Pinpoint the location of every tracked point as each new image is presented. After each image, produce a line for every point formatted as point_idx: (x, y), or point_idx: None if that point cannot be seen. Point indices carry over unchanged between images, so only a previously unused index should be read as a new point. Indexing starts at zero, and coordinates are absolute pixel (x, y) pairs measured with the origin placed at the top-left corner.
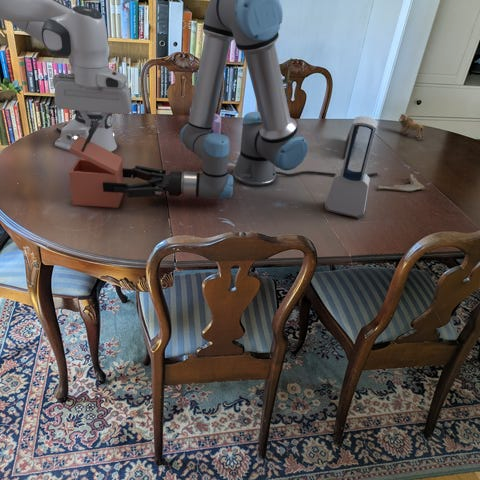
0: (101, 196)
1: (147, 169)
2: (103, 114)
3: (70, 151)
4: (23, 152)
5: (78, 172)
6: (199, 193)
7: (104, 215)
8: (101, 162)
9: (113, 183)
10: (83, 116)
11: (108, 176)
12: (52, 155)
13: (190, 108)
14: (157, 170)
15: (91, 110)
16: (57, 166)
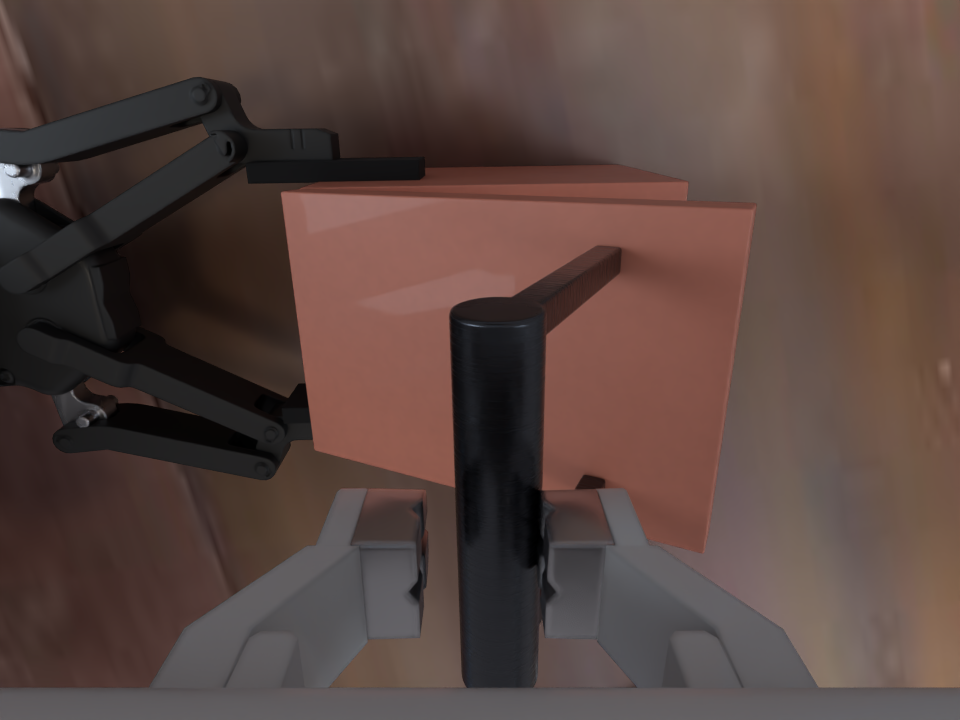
0: (447, 171)
1: (182, 439)
2: (233, 666)
3: (733, 204)
4: (947, 674)
5: (612, 185)
6: None
7: (412, 59)
8: (410, 213)
9: (339, 169)
10: (706, 600)
11: (369, 184)
12: (807, 667)
13: None
14: (108, 432)
15: (517, 707)
16: (768, 569)
